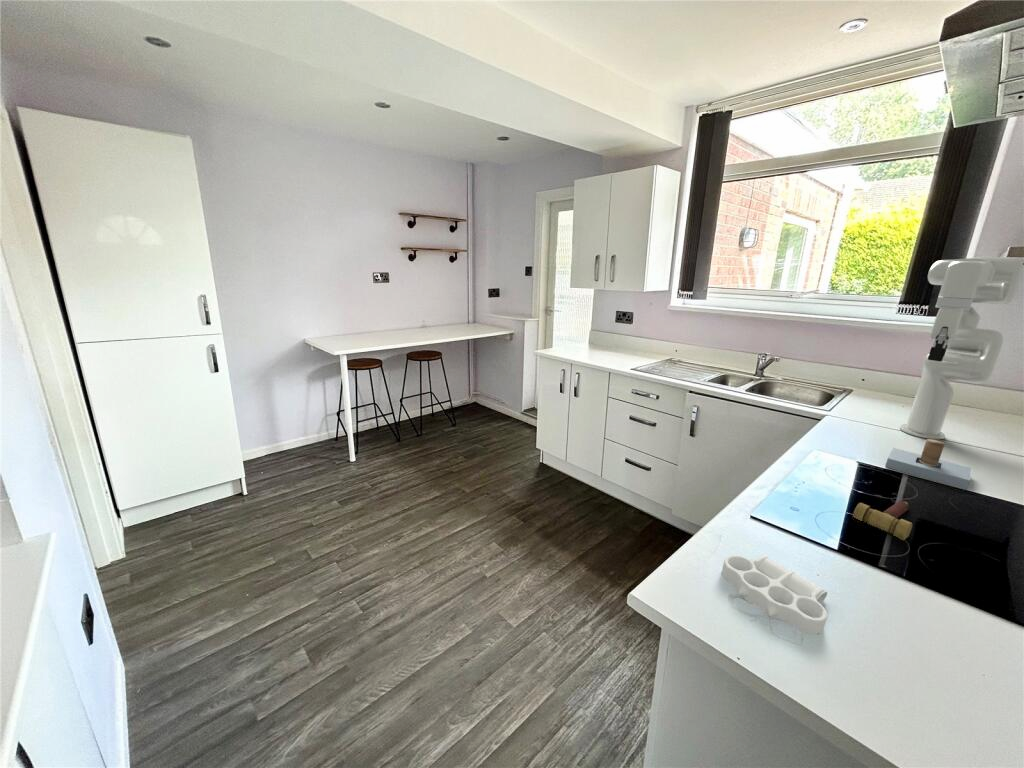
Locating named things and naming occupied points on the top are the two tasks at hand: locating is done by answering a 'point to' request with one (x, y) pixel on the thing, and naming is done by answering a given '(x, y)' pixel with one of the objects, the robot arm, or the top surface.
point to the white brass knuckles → (778, 591)
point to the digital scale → (929, 468)
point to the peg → (931, 453)
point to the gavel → (886, 518)
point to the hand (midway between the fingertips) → (935, 358)
